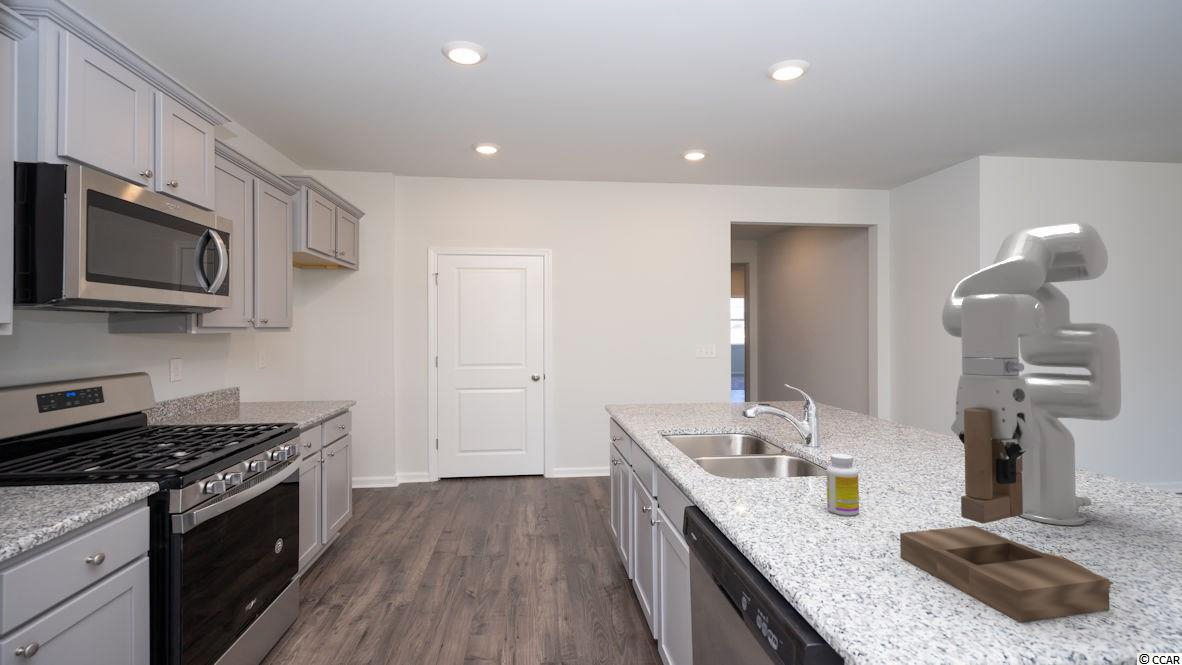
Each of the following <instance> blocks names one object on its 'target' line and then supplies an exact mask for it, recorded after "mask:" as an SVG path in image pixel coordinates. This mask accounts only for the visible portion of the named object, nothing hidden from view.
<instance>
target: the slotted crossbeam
mask: <svg viewBox="0 0 1182 665" xmlns="http://www.w3.org/2000/svg"><path fill="white" fill-rule="evenodd" d="M899 540H900V541H899V542H900V543H899V544H900V545H899V547H900V550H899V551H900V559H902V560H904V561H906V562H908V563H910V564H911V565H913V566H915V567H917V568H919V569H921V570H922V571H924V572H927V573H928V574H929V575H932V576H933V577H936V578H937V579H939V580H941V581H943V582H945V583H947V584H949V585H951V586H952V587H953V588H956V589H958V590H960V591H961V592H963V593H964V594H967V595H969V596H970V597H973V598H974V599H975V600H978V601H980V602H981V603H984V604H985V605H987V606H989V607H991V608H993V609H995V610H997V611H998V612H1000V613H1002V614H1003V615H1005V616H1007V617H1009V618H1011V619H1013V620H1015V621H1017V622H1018V623H1026V622H1032V621H1039V620H1040V621H1041V620H1048V619H1053V618H1054V619H1055V618H1059V617H1060V618H1061V617H1068V616H1073V615H1074V616H1075V615H1080V614H1086V613H1087V614H1089V613H1094V612H1102V611H1108V610H1110V608H1111V607H1110V588H1109V581H1110V578H1107V577H1105V576H1102V575H1099V574H1097V573H1095V572H1093V571H1091V570H1090V571H1091V572H1090V571H1087V570H1085V569H1082V568H1080V567H1077V566H1075V565H1072V564H1070V563H1067V562H1065V561H1062V560H1060V559H1057V558H1055V557H1052V556H1049V555H1047V554H1044V553H1045V552H1042V551H1039V550H1037V549H1033V548H1032V547H1029V546H1026V545H1024V544H1021V543H1018V542H1016V541H1014V540H1011V539H1009V538H1006V537H1003V536H1001V535H999V534H996V533H993V532H990V531H988V530H986V529H983V528H981V527H978V526H976V525H966V526H957V527H946V528H938V529H937V528H936V529H928V530H925V529H924V530H919V531H918V530H917V531H908V532H900V533H899Z"/></svg>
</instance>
